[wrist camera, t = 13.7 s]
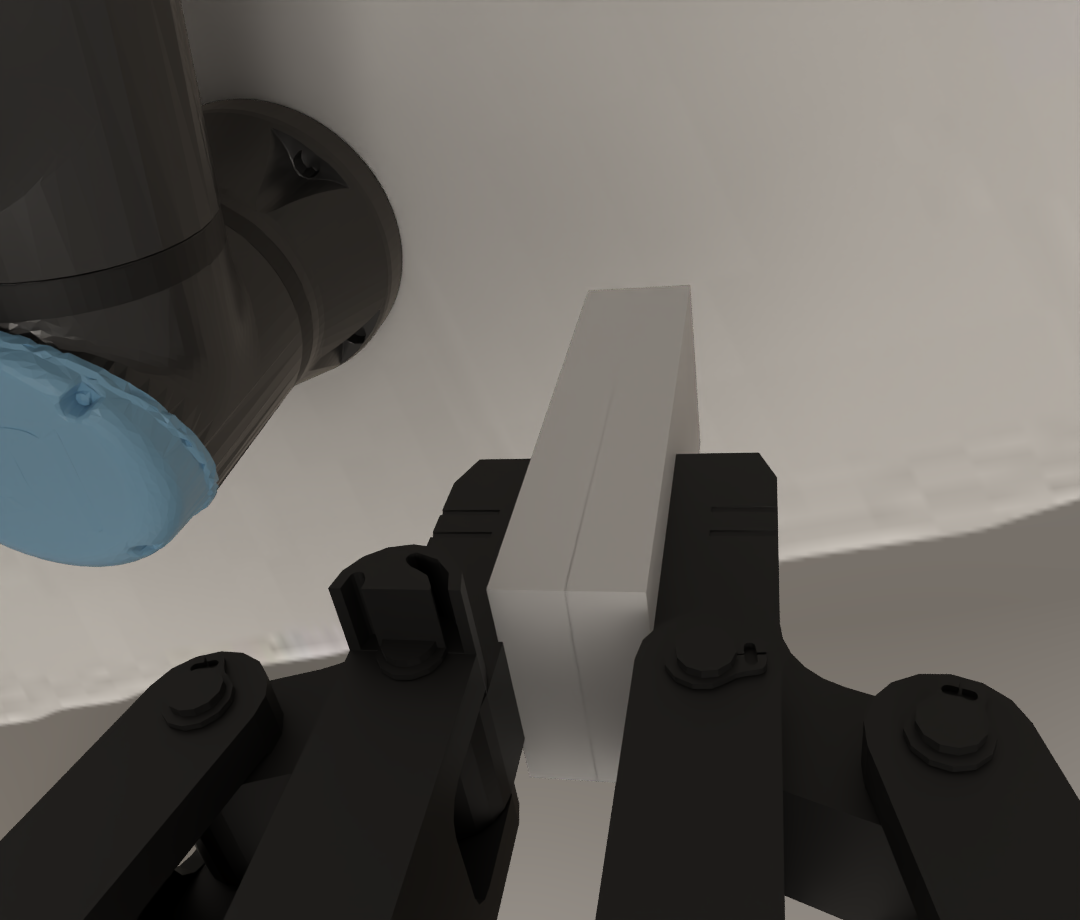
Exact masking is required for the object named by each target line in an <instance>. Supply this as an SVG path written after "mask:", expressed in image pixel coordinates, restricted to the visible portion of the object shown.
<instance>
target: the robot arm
mask: <svg viewBox="0 0 1080 920" xmlns="http://www.w3.org/2000/svg"><path fill="white" fill-rule="evenodd" d="M401 272H402V250H401V241H400V236H399V231H398V227H397V223H396V220H395V217H394V214H393V211H392V209H391V206H390V204H389V202H388V200H387V198H386V196H385V194H384V192H383V190H382V188H381V186H380V185H379V183H378V181H377V180H376V178H375V177H374V175H373V174H372V172H371V171H370V170H369V168H368V167H367V166H366V164H365V163H364V162H363V161H362V160H361V159H360V157H359V156H358V155H357V154H356V153H355V152H354V151H353V150H352V149H351V148H350V147H349V146H348V145H347V144H346V143H345V142H344V141H342V140H341V139H340V138H339V137H338V136H337V135H335V134H334V133H333V132H331V131H330V130H329V129H327V128H326V127H324V126H323V125H321V124H320V123H318V122H316V121H315V120H313V119H311V118H309V117H307V116H305V115H303V114H301V113H299V112H297V111H295V110H292V109H290V108H287V107H284V106H281V105H278V104H274V103H270V102H265V101H259V100H251V99H229V100H221V101H215V102H212V103H208V104H205V105H202V106H201V101H200V96H199V91H198V86H197V81H196V76H195V71H194V66H193V61H192V56H191V51H190V46H189V41H188V36H187V30H186V25H185V20H184V15H183V10H182V5H181V0H0V544H2V545H4V546H7V547H9V548H11V549H14V550H16V551H19V552H22V553H25V554H28V555H31V556H34V557H37V558H40V559H44V560H48V561H52V562H57V563H62V564H68V565H75V566H89V567H103V566H115V565H121V564H126V563H130V562H134V561H137V560H139V559H142V558H145V557H147V556H149V555H151V554H153V553H155V552H156V551H158V550H159V549H161V548H163V547H164V546H165V545H166V544H168V543H169V542H170V541H171V540H172V539H173V538H174V537H175V536H176V535H177V534H178V532H179V531H180V530H181V529H182V528H183V527H184V526H185V525H186V524H187V522H188V521H189V520H190V519H191V518H192V517H193V516H194V515H196V514H198V513H199V512H200V511H201V510H203V509H205V508H206V507H208V505H209V504H210V503H211V502H212V500H213V499H214V497H215V495H216V493H217V489H218V488H219V487H220V485H221V484H222V483H223V481H224V480H225V479H226V477H227V476H228V474H229V473H230V472H231V470H232V469H233V468H234V466H235V465H236V464H237V462H238V461H239V460H240V458H241V457H242V456H243V454H244V453H245V451H246V450H247V449H248V447H249V446H250V445H251V443H252V442H253V441H254V439H255V438H256V437H257V435H258V434H259V432H260V431H261V430H262V428H263V427H264V426H265V424H266V423H267V422H268V420H269V419H270V418H271V416H272V415H273V413H274V412H275V411H276V409H277V408H278V407H279V405H280V404H281V403H282V401H283V400H284V399H285V397H286V396H287V394H288V393H289V392H290V391H291V389H292V388H293V387H294V386H295V385H297V384H299V383H302V382H304V381H306V380H308V379H311V378H313V377H315V376H318V375H320V374H322V373H324V372H327V371H329V370H331V369H334V368H336V367H338V366H340V365H341V364H343V363H345V362H346V361H348V360H349V359H351V358H352V357H353V356H355V355H356V354H357V353H358V352H359V351H360V350H361V349H363V348H364V347H365V346H366V345H367V343H368V342H369V341H370V340H371V339H372V337H373V336H374V335H375V333H376V332H377V330H378V329H379V328H380V326H381V325H382V323H383V322H384V320H385V319H386V317H387V316H388V314H389V312H390V310H391V308H392V306H393V304H394V302H395V299H396V296H397V293H398V290H399V285H400V280H401ZM699 450H700V431H699V415H698V399H697V384H696V368H695V352H694V336H693V321H692V305H691V289H690V285H682V286H664V287H646V288H628V289H610V290H592V291H588V293H587V296H586V299H585V302H584V305H583V308H582V311H581V314H580V316H579V319H578V322H577V325H576V328H575V331H574V334H573V337H572V340H571V343H570V346H569V349H568V352H567V355H566V358H565V360H564V363H563V366H562V369H561V372H560V375H559V378H558V381H557V384H556V387H555V390H554V393H553V396H552V399H551V402H550V404H549V407H548V410H547V413H546V416H545V419H544V422H543V425H542V428H541V431H540V434H539V437H538V440H537V443H536V446H535V448H534V451H533V454H532V457H531V459H486V460H479V461H478V462H477V463H476V464H474V465H473V466H472V467H471V468H470V469H469V470H468V471H467V472H466V473H465V474H464V475H463V476H461V477H460V478H459V479H458V480H457V481H456V482H455V483H454V485H453V487H452V489H451V492H450V494H449V496H448V499H447V501H446V503H445V505H444V508H443V515H440V517H439V519H438V521H437V524H436V526H435V528H434V531H433V537H430V540H429V542H428V544H427V546H421V545H414V544H413V545H404V546H396V547H388V548H385V549H383V550H380V551H377V552H375V553H372V554H369V555H366V556H364V557H362V558H361V559H359V560H358V561H356V562H355V563H353V564H352V565H350V566H349V567H347V568H346V569H344V570H343V571H342V572H341V573H340V574H339V576H338V577H337V578H336V579H335V580H334V582H333V583H332V584H331V585H330V587H329V588H328V589H329V592H330V595H331V597H332V600H333V603H334V606H335V609H336V612H337V615H338V617H339V620H340V623H341V626H342V629H343V632H344V635H345V637H346V640H347V643H348V646H349V649H350V651H349V654H348V656H347V658H346V660H345V662H343V663H340V664H337V665H334V666H331V667H328V668H324V669H321V670H316V671H312V672H307V673H303V674H298V675H293V676H289V677H284V678H280V679H275V680H271V681H269V679H268V676H267V675H266V672H265V671H264V669H263V667H262V665H261V663H260V661H258V660H256V659H254V658H252V657H250V656H248V655H246V654H244V653H237V652H223V651H221V652H216V653H212V654H207V655H203V656H198V657H195V658H193V659H191V660H189V661H187V662H185V663H183V664H181V665H178V666H176V667H174V668H172V669H171V670H170V671H168V672H167V673H166V674H165V675H163V676H162V677H161V678H160V679H158V680H157V681H156V682H155V683H153V684H152V685H151V686H150V687H149V688H148V689H147V690H146V691H145V692H144V693H143V694H142V695H141V696H140V697H139V698H138V699H137V700H136V701H135V703H133V704H132V706H130V708H129V709H128V710H127V711H126V712H125V713H124V714H123V715H122V716H121V717H120V718H119V719H118V720H117V721H116V722H115V723H114V724H113V725H112V726H111V727H110V728H109V729H108V730H107V731H106V732H105V733H104V734H103V735H102V737H100V738H99V740H98V741H97V742H96V743H95V744H94V745H93V746H92V747H91V748H90V749H89V750H88V751H87V752H86V753H85V754H84V755H83V756H82V757H81V758H80V759H79V760H78V761H77V762H76V763H75V764H74V765H73V766H72V767H71V768H70V770H69V771H68V772H67V773H66V774H65V775H64V776H63V777H62V778H61V779H60V780H59V781H58V782H57V783H56V784H55V785H54V786H53V787H52V788H51V789H50V790H49V791H48V792H47V793H46V794H45V795H44V796H43V797H42V798H41V799H40V800H39V802H38V803H37V804H36V805H35V806H34V807H33V808H32V809H31V810H30V811H29V812H28V813H27V814H26V815H25V816H24V817H23V818H22V819H21V820H20V821H19V822H18V823H17V824H16V825H15V826H14V827H13V828H12V829H11V830H10V831H9V832H8V833H7V835H6V836H5V837H4V838H3V839H2V840H1V841H0V920H497V916H498V912H499V908H500V904H501V899H502V895H503V891H504V886H505V882H506V878H507V873H508V869H509V865H510V860H511V856H512V851H513V847H514V843H515V839H516V834H517V830H518V826H519V801H518V797H517V793H516V789H515V785H514V780H515V776H516V772H517V768H518V764H519V760H520V756H521V752H522V748H523V749H524V754H525V758H526V763H527V767H528V771H529V775H530V777H536V778H550V779H566V780H581V781H596V782H597V781H598V782H612V783H616V786H615V792H614V799H613V806H612V812H611V819H610V826H609V833H608V839H607V846H606V852H605V859H604V866H603V873H602V879H601V886H600V893H599V900H598V906H597V913H596V920H785V899H784V895H785V896H787V897H790V898H792V899H795V900H797V901H799V902H802V903H804V904H807V905H809V906H812V907H814V908H816V909H819V910H821V911H824V912H826V913H828V914H831V915H834V916H836V917H838V918H840V919H843V920H1080V800H1079V799H1078V797H1077V796H1076V794H1075V792H1074V790H1073V789H1072V787H1071V786H1070V784H1069V783H1068V781H1067V779H1066V777H1065V776H1064V774H1063V772H1062V771H1061V769H1060V767H1059V766H1058V764H1057V763H1056V761H1055V760H1054V758H1053V756H1052V754H1051V753H1050V751H1049V750H1048V748H1047V746H1046V745H1045V743H1044V741H1043V740H1042V738H1041V736H1040V735H1039V733H1038V732H1037V730H1036V728H1035V727H1034V725H1033V723H1032V722H1031V721H1030V720H1029V719H1028V718H1027V717H1026V716H1025V714H1024V713H1023V712H1022V711H1021V710H1020V709H1019V708H1018V707H1017V706H1016V704H1015V703H1014V702H1013V701H1012V700H1010V699H1009V698H1007V697H1006V696H1004V695H1002V694H1000V693H999V692H997V691H995V690H994V689H992V688H990V687H988V686H987V685H985V684H983V683H980V682H976V681H973V680H969V679H966V678H962V677H959V676H955V675H951V674H918V675H914V676H911V677H908V678H905V679H901V680H898V681H895V682H892V683H890V684H889V685H888V686H887V687H885V688H884V689H883V690H882V691H881V692H879V693H878V694H877V695H876V696H873V695H870V694H866V693H863V692H859V691H856V690H853V689H849V688H846V687H843V686H841V685H838V684H836V683H833V682H830V681H828V680H825V679H823V678H821V677H820V676H818V675H817V674H815V673H813V672H812V671H810V670H809V669H807V668H806V667H804V666H803V665H802V664H801V663H800V662H799V661H798V660H797V659H796V658H795V657H794V656H793V655H792V654H791V653H790V650H789V649H788V647H787V645H786V643H785V642H784V640H783V637H782V632H781V627H780V614H779V612H780V611H779V559H778V507H777V477H776V476H775V474H774V473H773V471H772V470H771V469H770V467H769V466H768V465H767V463H766V462H765V461H764V459H763V458H762V456H761V455H760V454H759V453H707V454H699ZM194 845H195V847H196V850H195V852H194V853H193V854H192V855H191V856H190V857H189V858H188V859H187V860H186V861H184V862H183V863H182V864H181V865H180V866H178V865H179V863H180V862H181V861H182V860H183V858H184V857H185V856H186V855H187V853H188V852H189V851H190V850H191V848H192V847H193V846H194Z"/></svg>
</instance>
